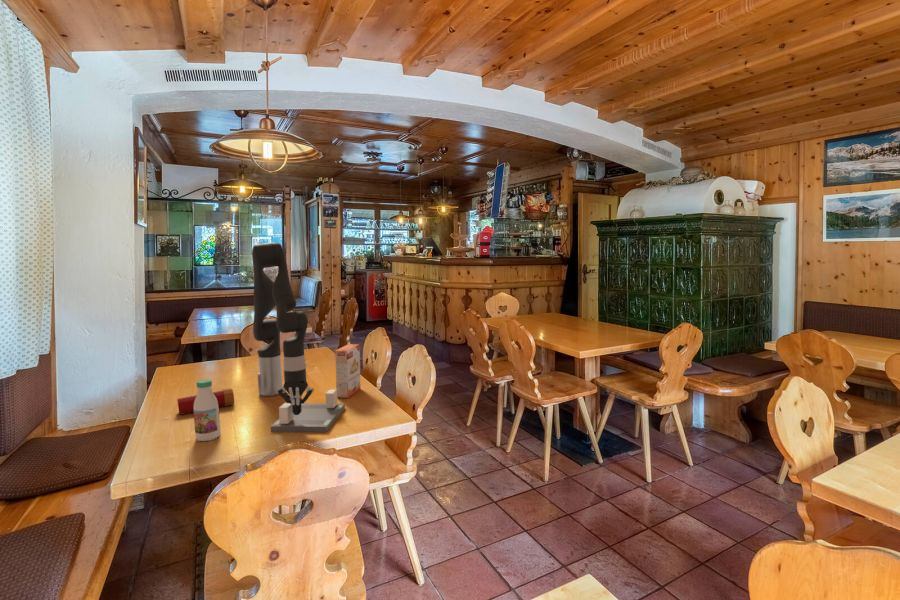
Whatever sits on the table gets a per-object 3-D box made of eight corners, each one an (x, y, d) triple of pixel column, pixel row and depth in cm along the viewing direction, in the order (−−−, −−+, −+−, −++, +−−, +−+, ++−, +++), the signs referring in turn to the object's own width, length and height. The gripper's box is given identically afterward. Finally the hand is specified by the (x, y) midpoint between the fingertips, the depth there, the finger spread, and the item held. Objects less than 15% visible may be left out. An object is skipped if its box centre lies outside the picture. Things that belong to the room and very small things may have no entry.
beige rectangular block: (279, 423, 169) (278, 407, 169) (285, 418, 174) (284, 403, 174) (288, 423, 169) (287, 407, 169) (293, 418, 174) (292, 403, 174)
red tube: (235, 407, 195) (234, 390, 194) (179, 417, 184) (178, 399, 184) (232, 402, 201) (231, 386, 200) (178, 411, 190) (177, 394, 189)
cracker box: (349, 398, 203) (347, 350, 200) (336, 398, 204) (334, 350, 202) (361, 388, 217) (360, 343, 214) (349, 388, 218) (347, 343, 215)
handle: (326, 408, 185) (325, 393, 184) (330, 403, 190) (329, 389, 189) (333, 408, 185) (333, 393, 184) (337, 403, 190) (336, 389, 189)
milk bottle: (201, 433, 168) (197, 378, 165) (224, 432, 169) (220, 377, 166) (191, 442, 160) (186, 384, 158) (215, 441, 161) (211, 384, 158)
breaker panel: (271, 431, 168) (270, 426, 168) (295, 408, 192) (295, 403, 192) (326, 432, 167) (326, 426, 167) (344, 408, 191) (344, 403, 191)
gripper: (272, 370, 166) (275, 418, 168) (309, 370, 165) (311, 418, 167) (280, 364, 173) (283, 410, 176) (316, 364, 173) (318, 410, 175)
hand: (297, 414), depth 172 cm, fingers closed
